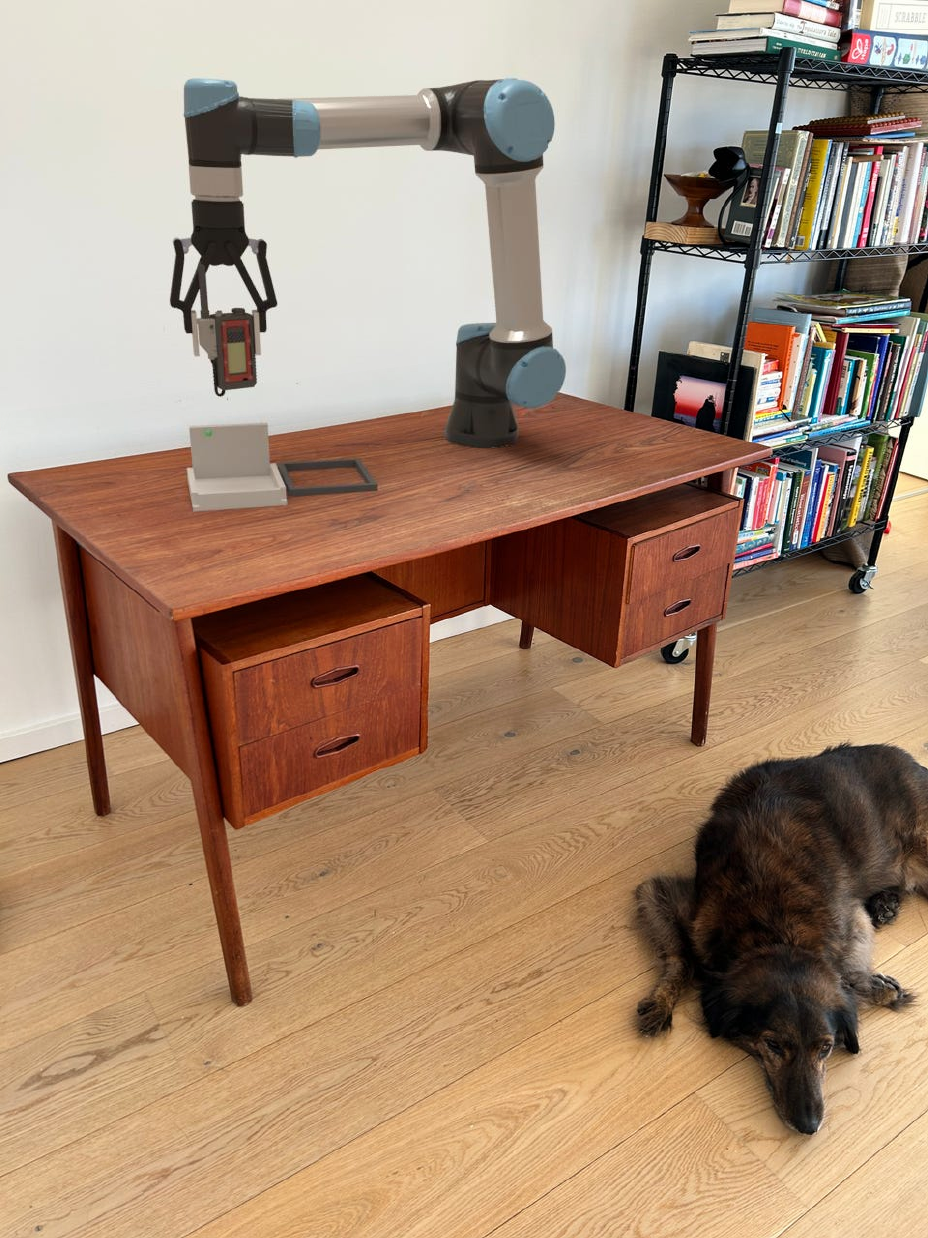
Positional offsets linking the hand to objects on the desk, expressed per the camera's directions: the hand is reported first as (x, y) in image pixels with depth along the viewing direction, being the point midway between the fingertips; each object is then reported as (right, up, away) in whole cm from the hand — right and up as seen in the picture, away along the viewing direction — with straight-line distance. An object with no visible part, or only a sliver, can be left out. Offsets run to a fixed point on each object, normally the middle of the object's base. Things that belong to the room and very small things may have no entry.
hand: (227, 353), depth 153 cm
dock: (-1, -21, +10) cm, 23 cm away
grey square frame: (+13, -17, +18) cm, 29 cm away
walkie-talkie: (-1, -6, +3) cm, 7 cm away
